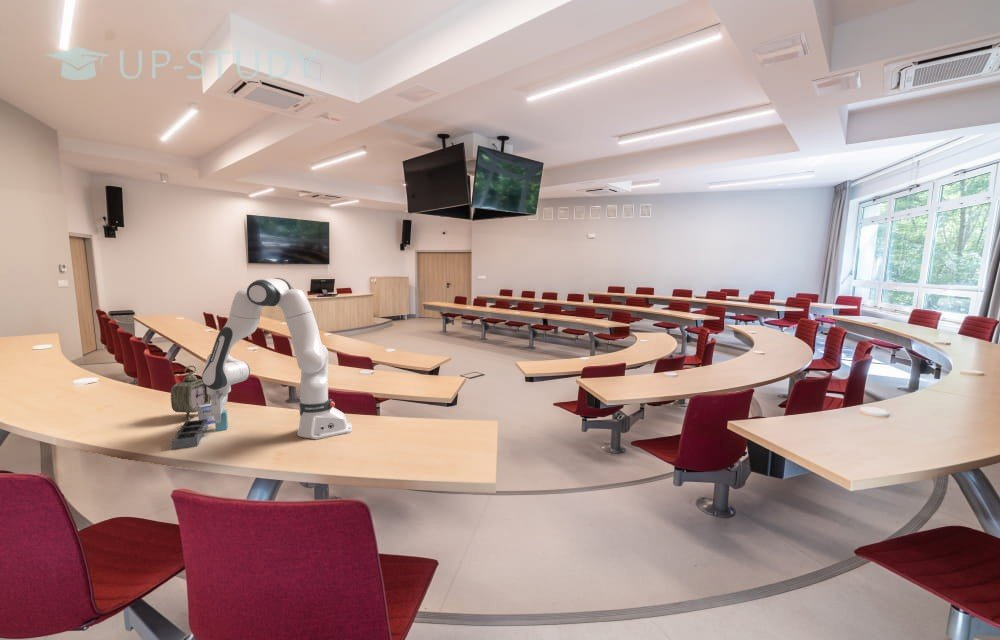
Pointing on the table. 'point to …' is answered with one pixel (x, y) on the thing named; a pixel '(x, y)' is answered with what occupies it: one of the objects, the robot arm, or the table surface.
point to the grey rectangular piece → (190, 434)
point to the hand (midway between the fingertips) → (219, 419)
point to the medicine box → (205, 413)
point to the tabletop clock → (189, 394)
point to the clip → (222, 422)
